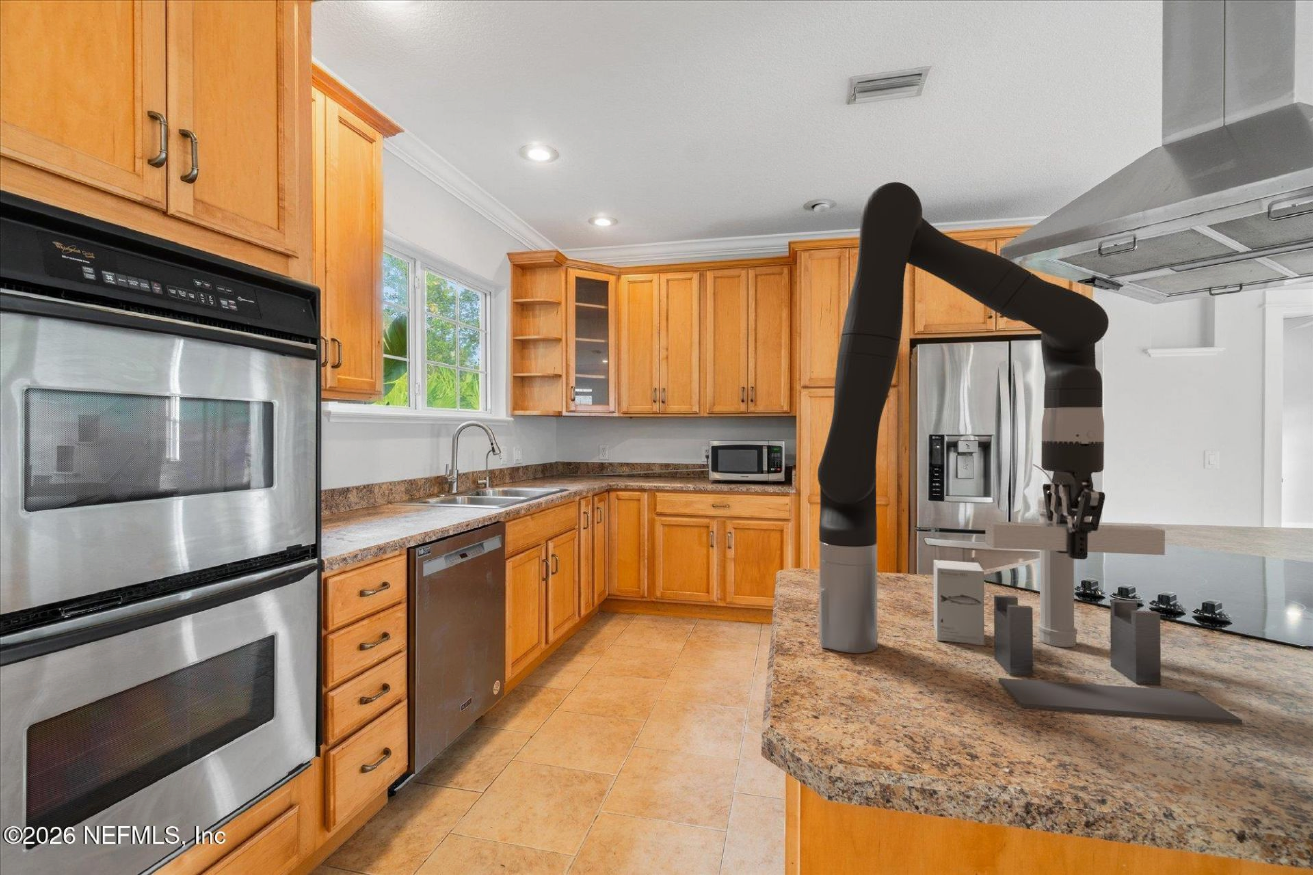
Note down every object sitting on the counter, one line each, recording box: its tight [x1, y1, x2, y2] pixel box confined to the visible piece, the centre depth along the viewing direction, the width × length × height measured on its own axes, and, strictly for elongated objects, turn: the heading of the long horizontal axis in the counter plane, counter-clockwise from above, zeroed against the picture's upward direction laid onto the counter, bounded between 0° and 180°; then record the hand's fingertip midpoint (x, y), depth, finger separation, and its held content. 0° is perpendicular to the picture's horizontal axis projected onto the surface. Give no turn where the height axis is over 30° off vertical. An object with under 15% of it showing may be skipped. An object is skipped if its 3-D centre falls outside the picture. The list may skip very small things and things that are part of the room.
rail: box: [984, 520, 1166, 556], centre depth 87 cm, size 22×4×4 cm, turn 78°
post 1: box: [993, 594, 1034, 678], centre depth 88 cm, size 3×6×10 cm, turn 168°
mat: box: [998, 677, 1243, 726], centre depth 77 cm, size 24×8×1 cm, turn 78°
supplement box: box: [933, 559, 985, 647], centre depth 102 cm, size 7×7×13 cm
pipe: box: [1032, 463, 1078, 648], centre depth 99 cm, size 6×6×30 cm
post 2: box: [1109, 599, 1162, 686], centre depth 85 cm, size 3×6×10 cm, turn 168°
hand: (1070, 555), depth 87 cm, fingers closed on rail, 3 cm apart
